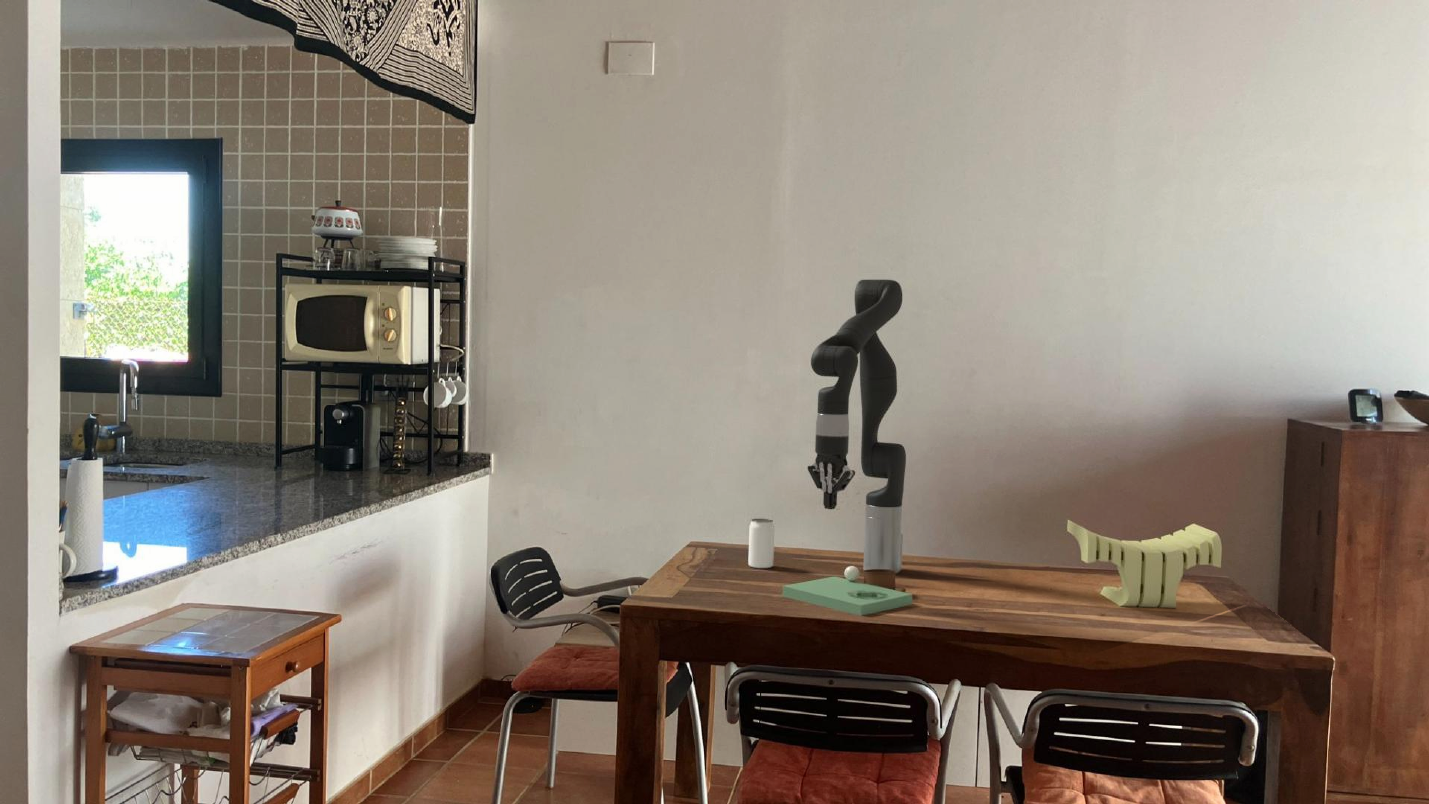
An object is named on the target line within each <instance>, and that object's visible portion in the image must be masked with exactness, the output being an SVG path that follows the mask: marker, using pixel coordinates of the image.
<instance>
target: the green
mask: <svg viewBox="0 0 1429 804" xmlns="http://www.w3.org/2000/svg"><path fill="white" fill-rule="evenodd" d="M913 595H914V594H912V593H910V592H909V593H907V592H906V591H905V592H900V591H896V590H891V589H887V588H883V587H878V586H873V585H869V584H865V583H864V582H859V581H857V580H855V581H849V580H848V579H846V578H843V577H838V576H829V577H824V578H819V579H812V580H809V581H808V580H807V581H804V582H797V583H792V584H786V585H782V593H781V596H782V597H784V598H787V599H792V600H794V601H801V602H804V603H808V604H813V605H816V606H819V607H824V608H827V609H828V608H829V609H832V610H836V611H840V612H844V613H848V614H852V615H857V616H860V617H861V616H867V615H870V614H874V613H875V614H876V613H879V612H883V611H888V610H889V611H890V610H893V609H897V608H902V607H907V606H911V605H913Z"/></svg>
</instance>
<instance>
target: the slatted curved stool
mask: <svg viewBox="0 0 1429 804" xmlns="http://www.w3.org/2000/svg"><path fill="white" fill-rule="evenodd" d="M1066 527H1067V530H1066V532H1068V533H1069V534H1071V535H1072V536H1073V537H1074V538H1075V539H1076V540H1077V542H1078V545H1079V548H1080V558H1081V559H1080V560H1081V561H1083V562H1084V563H1086V564H1091V563H1092V564H1093V563H1096V562H1097V561H1098V562H1107V563H1108V562H1111V563H1113V564H1114V565H1115V566H1116V567H1117V568H1116V569H1117V571H1118V574H1119V576H1120V580H1121V581H1120V582H1121V586H1119V587H1116V586H1106V585H1105V586H1103V588H1102V589H1101V591H1100V593H1099V594H1101V595H1102V596H1103V597H1105V598H1107V599H1108V600H1110V601H1111V602H1113V603H1114V604H1116V605H1118V606H1119V607H1135V608H1136V607H1137V606H1138V607H1139V608H1157V607H1159V608H1163V609H1164V608H1165V609H1167V608H1169V609H1176V608H1177V594H1178V593H1177V592H1178V588H1179V585H1180V582H1181V579H1182V578H1183V575H1184V569H1185V570H1189V569H1190V568H1192V567H1196V565H1199V566H1203V565H1205V566H1209V565H1210V566H1212V567H1215V568H1218V569H1219V568H1220V569H1221V568H1222V553H1223V549H1222V548H1223V547H1222V540H1221V537H1220V536H1219V533H1217V532H1216V531H1213V530H1210V529H1208V528H1205V527H1204V526H1201V525H1199V524H1196V523H1192V524H1189V525H1188V526H1186V527H1184V529H1185V530H1183V529H1179V530H1177V531H1174V532H1173V534H1166V535H1163V536H1160V538H1159V537H1155V538H1151V539H1143V540H1141V541H1139V540H1125V539H1124V540H1123V539H1122V540H1119V539H1118V538H1117V539H1116V538H1110V537H1108V536H1103V535H1100V534H1097V533H1095V532H1093V531H1090V530H1088V529H1087V528H1085V527H1083V526H1081V525H1079V524H1078V523H1075V522H1073V521H1071V520H1070V519H1067V526H1066Z"/></svg>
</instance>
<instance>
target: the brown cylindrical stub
mask: <svg viewBox="0 0 1429 804" xmlns="http://www.w3.org/2000/svg"><path fill="white" fill-rule="evenodd" d="M863 583H865V584H869V585H873V586H878V587H883V588H887V589H891V590H896V591H900V592H905V593H906V588H905V587H902V586H900V587H899V586H896V573H895V570H888V569H869V570H863Z"/></svg>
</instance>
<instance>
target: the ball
mask: <svg viewBox="0 0 1429 804" xmlns="http://www.w3.org/2000/svg"><path fill="white" fill-rule="evenodd" d="M843 575H844V577H845V579H848V580H849V581H857V580H858V579H859V578H860V570H859V569H858V568H857V566H854V565H850V566H847V567H846V568H845V570H844V574H843Z"/></svg>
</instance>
